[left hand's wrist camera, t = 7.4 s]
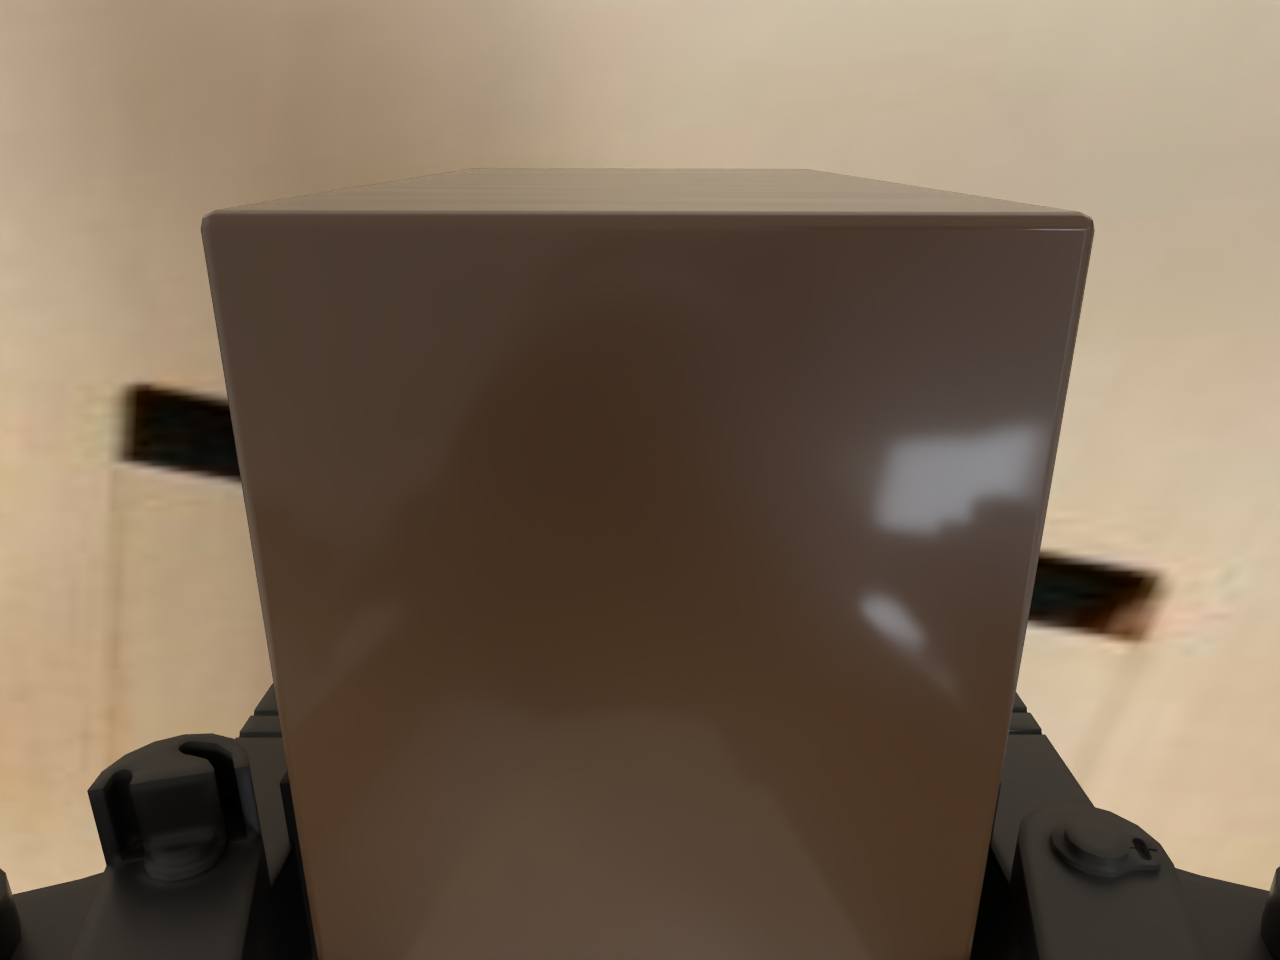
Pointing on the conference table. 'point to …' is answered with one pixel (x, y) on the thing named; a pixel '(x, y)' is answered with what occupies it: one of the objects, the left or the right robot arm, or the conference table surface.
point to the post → (645, 550)
